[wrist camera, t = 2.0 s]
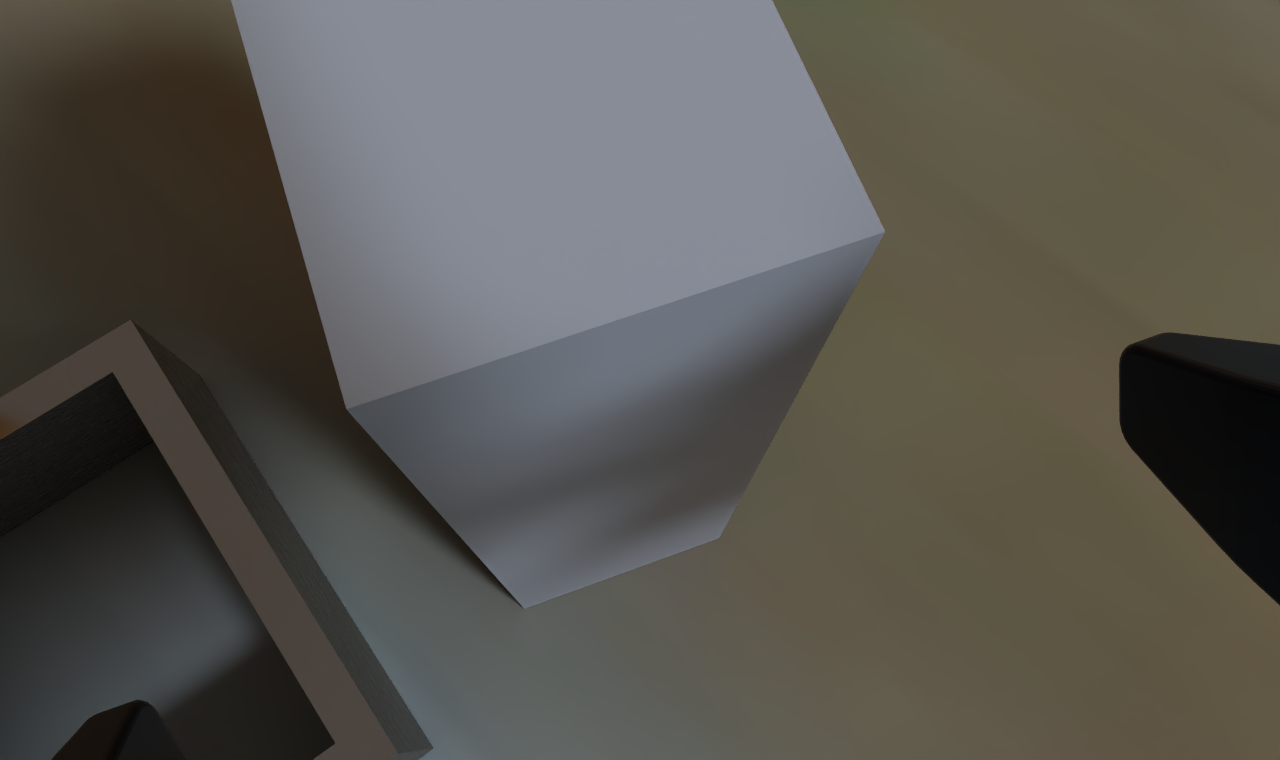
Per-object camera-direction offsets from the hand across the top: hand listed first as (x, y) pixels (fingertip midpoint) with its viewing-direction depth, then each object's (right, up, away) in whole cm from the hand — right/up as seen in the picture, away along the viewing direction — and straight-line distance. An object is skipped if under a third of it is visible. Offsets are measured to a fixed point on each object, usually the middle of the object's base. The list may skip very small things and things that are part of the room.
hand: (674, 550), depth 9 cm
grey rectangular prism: (-1, 0, +11) cm, 11 cm away
